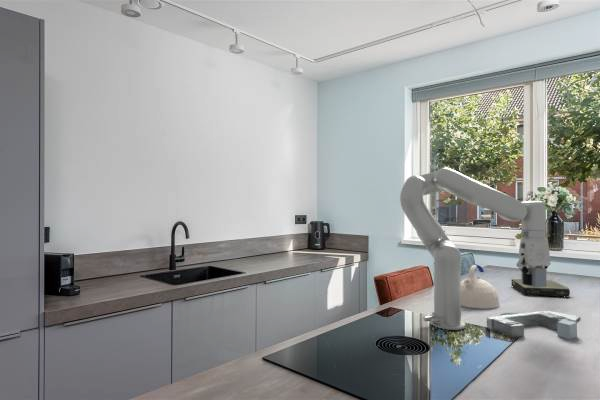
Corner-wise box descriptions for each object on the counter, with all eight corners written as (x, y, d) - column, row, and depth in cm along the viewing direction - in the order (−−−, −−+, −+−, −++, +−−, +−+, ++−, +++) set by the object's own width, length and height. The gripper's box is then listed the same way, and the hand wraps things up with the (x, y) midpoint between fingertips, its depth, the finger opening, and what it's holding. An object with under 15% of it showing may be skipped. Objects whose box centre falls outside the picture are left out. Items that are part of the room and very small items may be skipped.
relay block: (570, 339, 133) (570, 324, 133) (557, 336, 137) (557, 321, 137) (577, 336, 136) (576, 322, 136) (564, 333, 139) (564, 319, 140)
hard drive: (580, 316, 157) (545, 309, 166) (575, 320, 151) (539, 313, 160) (580, 320, 157) (545, 313, 166) (575, 324, 151) (539, 317, 160)
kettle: (444, 303, 181) (444, 265, 181) (461, 295, 196) (461, 260, 197) (491, 311, 167) (490, 270, 168) (505, 302, 183) (504, 264, 183)
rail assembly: (511, 337, 135) (511, 325, 135) (486, 327, 146) (486, 316, 146) (572, 329, 143) (571, 318, 143) (544, 320, 154) (544, 310, 154)
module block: (535, 287, 139) (535, 268, 139) (521, 283, 144) (521, 265, 144) (546, 286, 140) (546, 267, 140) (532, 283, 146) (532, 265, 146)
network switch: (550, 288, 214) (550, 279, 214) (576, 298, 191) (576, 288, 191) (506, 287, 216) (506, 278, 217) (526, 297, 193) (526, 287, 193)
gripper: (523, 236, 136) (523, 288, 136) (560, 234, 141) (561, 284, 141) (506, 234, 144) (506, 283, 143) (542, 233, 148) (542, 280, 148)
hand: (533, 283), depth 142 cm, fingers closed on module block, 5 cm apart
